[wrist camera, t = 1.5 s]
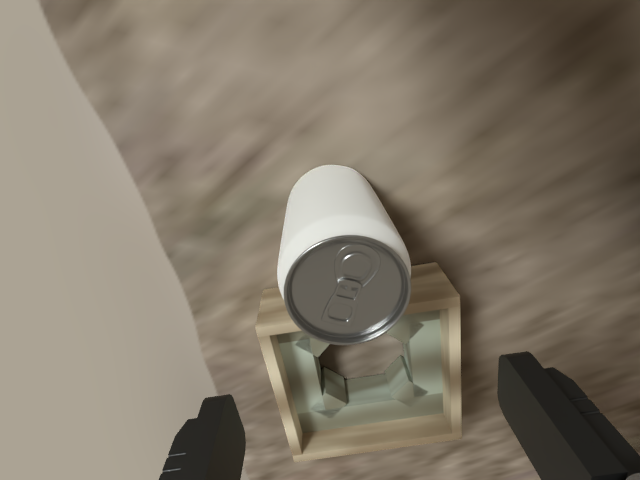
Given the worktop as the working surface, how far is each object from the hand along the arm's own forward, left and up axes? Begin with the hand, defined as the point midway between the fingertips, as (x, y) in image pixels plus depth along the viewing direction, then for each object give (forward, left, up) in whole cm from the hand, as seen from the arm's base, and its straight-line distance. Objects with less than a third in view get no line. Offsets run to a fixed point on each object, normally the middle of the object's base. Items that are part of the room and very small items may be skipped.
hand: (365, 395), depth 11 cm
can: (0, 0, -18) cm, 18 cm away
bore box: (+13, 0, -18) cm, 22 cm away
